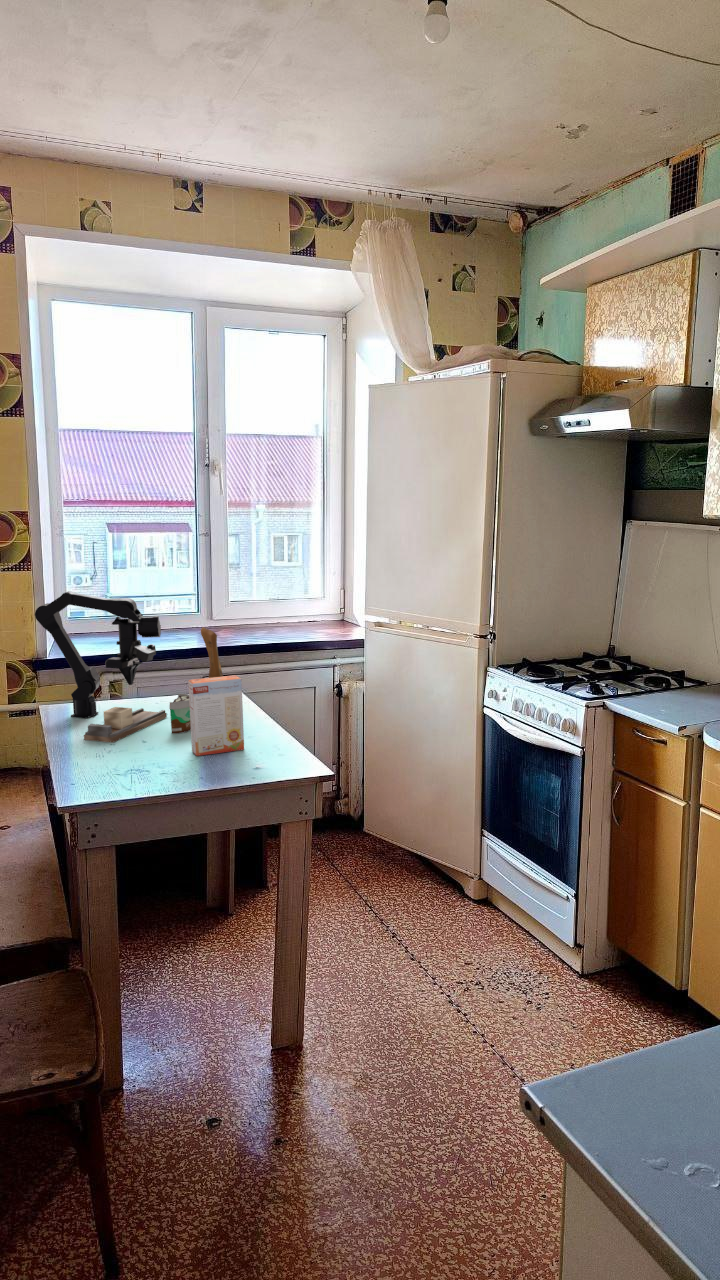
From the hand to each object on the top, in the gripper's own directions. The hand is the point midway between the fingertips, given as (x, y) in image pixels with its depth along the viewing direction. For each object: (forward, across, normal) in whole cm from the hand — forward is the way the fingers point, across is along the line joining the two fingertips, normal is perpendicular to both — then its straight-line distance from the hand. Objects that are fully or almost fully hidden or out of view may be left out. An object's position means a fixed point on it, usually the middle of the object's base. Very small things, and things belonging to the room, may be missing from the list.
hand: (130, 684), depth 283 cm
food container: (+10, -11, -26) cm, 30 cm away
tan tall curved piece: (+10, +12, -25) cm, 29 cm away
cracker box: (+10, -28, -46) cm, 55 cm away
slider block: (+8, -20, -8) cm, 23 cm away
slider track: (+10, -15, -8) cm, 20 cm away
